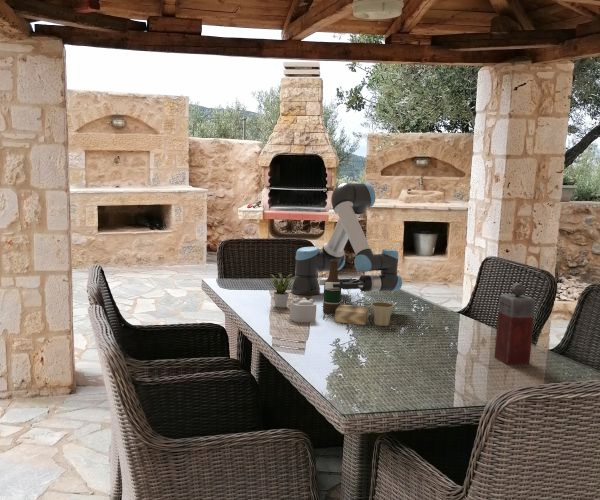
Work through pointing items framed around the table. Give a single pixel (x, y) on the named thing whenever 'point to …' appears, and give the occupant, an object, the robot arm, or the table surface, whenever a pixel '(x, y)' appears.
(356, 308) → the olive wood block
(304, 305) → the lumpy-topped squat cylinder
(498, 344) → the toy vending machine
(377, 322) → the flower pot
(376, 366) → the table surface
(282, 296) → the house plant
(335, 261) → the beer bottle
